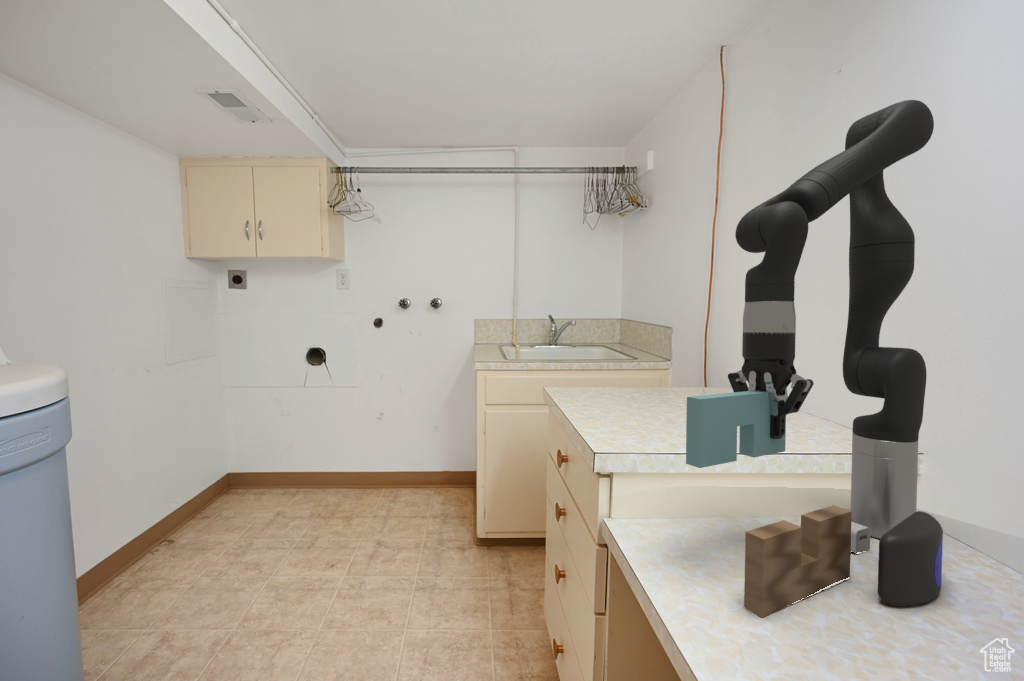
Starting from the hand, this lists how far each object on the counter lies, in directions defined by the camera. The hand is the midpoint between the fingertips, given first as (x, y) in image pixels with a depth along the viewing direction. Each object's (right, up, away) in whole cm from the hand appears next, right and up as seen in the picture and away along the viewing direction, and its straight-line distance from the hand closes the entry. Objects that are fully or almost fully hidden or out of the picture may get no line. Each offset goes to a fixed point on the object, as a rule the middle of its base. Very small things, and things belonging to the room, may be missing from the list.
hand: (766, 435), depth 75 cm
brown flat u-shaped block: (-2, -19, -12) cm, 23 cm away
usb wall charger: (+14, -19, +3) cm, 24 cm away
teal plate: (-6, -3, -3) cm, 7 cm away
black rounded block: (+14, -20, -10) cm, 26 cm away
